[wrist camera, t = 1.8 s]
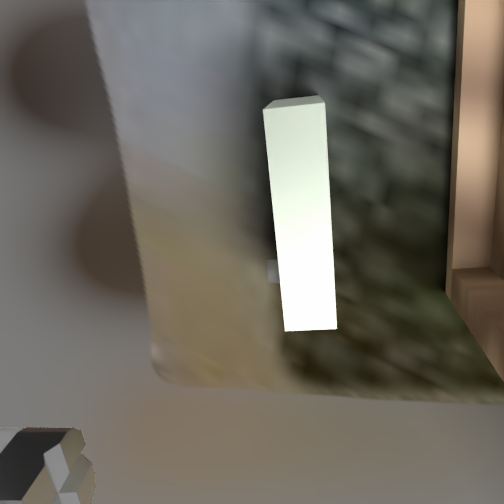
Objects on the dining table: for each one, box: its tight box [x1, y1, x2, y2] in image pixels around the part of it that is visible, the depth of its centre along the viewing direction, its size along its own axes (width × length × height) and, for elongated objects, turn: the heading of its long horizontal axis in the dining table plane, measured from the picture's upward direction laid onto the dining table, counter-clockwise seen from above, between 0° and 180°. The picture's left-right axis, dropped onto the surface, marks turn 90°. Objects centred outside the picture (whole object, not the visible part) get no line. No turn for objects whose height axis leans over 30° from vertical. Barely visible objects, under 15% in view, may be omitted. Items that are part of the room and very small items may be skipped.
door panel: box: [263, 95, 337, 331], centre depth 22 cm, size 10×3×7 cm, turn 6°
